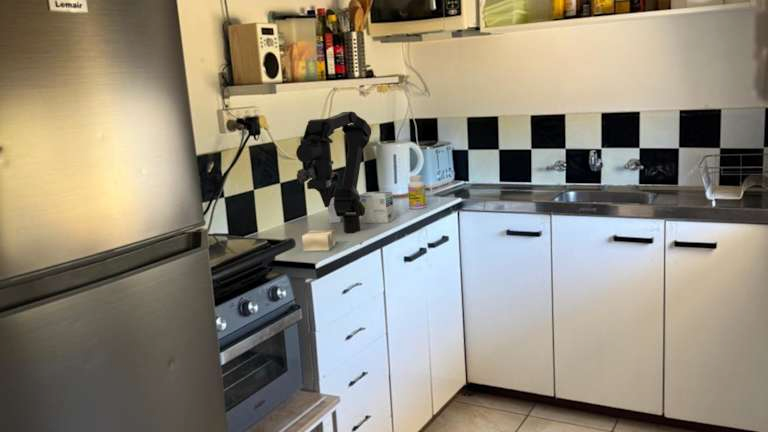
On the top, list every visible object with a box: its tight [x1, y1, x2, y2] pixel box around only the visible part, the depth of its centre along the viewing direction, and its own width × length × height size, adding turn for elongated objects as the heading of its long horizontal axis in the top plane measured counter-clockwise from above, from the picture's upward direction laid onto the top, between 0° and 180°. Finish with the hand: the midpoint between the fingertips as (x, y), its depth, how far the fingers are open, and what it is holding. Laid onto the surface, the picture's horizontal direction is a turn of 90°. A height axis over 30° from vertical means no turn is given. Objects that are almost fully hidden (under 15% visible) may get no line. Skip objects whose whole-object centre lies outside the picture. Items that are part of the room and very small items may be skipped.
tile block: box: [301, 229, 336, 252], centre depth 221 cm, size 5×8×8 cm
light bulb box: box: [359, 190, 396, 224], centre depth 263 cm, size 11×7×11 cm, turn 66°
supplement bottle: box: [407, 174, 427, 210], centre depth 285 cm, size 7×7×13 cm
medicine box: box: [327, 196, 343, 224], centre depth 271 cm, size 8×4×9 cm, turn 170°
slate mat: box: [292, 240, 350, 255], centre depth 223 cm, size 16×14×1 cm
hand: (326, 207), depth 231 cm, fingers closed
